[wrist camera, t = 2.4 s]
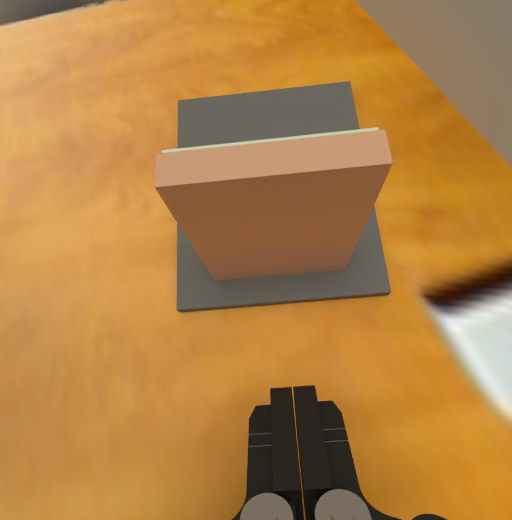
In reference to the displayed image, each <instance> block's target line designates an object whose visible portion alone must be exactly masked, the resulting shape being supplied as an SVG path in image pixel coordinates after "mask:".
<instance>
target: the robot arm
mask: <svg viewBox="0 0 512 520" xmlns="http://www.w3.org/2000/svg"><path fill="white" fill-rule="evenodd" d="M293 390H294V403H295V415H296V427H297V438H298V448H299V458H300V468H301V477H302V487H303V497H304V507H305V517H306V520H401V519H398V518H394V517H391V516H388V515H385V514H383V513H381V512H379V511H378V510H376V509H375V508H374V507H372V506H371V505H370V504H369V503H368V502H367V500H366V499H365V498H364V496H363V494H362V492H361V490H360V487H359V483H358V479H357V475H356V470H355V466H354V462H353V458H352V454H351V450H350V446H349V442H348V437H347V433H346V430H345V425H344V421H343V417H342V413H341V411H340V410H339V409H338V408H337V406H336V405H335V404H334V402H333V401H320V402H317V396H316V390H315V386H314V385H312V386H297V387H293ZM270 396H271V405H261V406H256V407H255V409H254V411H253V413H252V414H251V416H250V418H249V440H248V466H247V493H246V499H245V502H244V505H243V507H242V508H241V510H240V512H239V513H238V514H237V515H236V516H235V517H234V518H233V519H232V520H304V516H303V503H302V491H301V480H300V470H299V460H298V449H297V439H296V429H295V419H294V408H293V398H292V388H291V387H284V388H271V389H270ZM412 520H447V519H445V518H443V517H440V516H438V515H434V514H421V515H418V516H416V517H415V518H413V519H412Z"/></svg>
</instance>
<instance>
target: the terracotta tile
mask: <svg viewBox="0 0 512 520" xmlns="http://www.w3.org/2000/svg"><path fill="white" fill-rule="evenodd" d="M392 164H393V163H392V158H391V154H390V149H389V145H388V140H387V136H386V131H385V130H379V129H378V127H377V128H367V129H358V130H349V131H339V132H330V133H320V134H311V135H301V136H292V137H283V138H273V139H264V140H254V141H245V142H235V143H226V144H216V145H207V146H198V147H188V148H179V149H169V150H162V153H158V154H156V167H155V188H156V190H157V191H158V193H159V194H160V196H161V198H162V199H163V201H164V202H165V204H166V205H167V207H168V209H169V210H170V212H171V213H172V215H173V216H174V218H175V220H176V221H177V223H178V224H179V226H180V228H181V229H182V231H183V232H184V234H185V235H186V237H187V239H188V240H189V242H190V243H191V245H192V246H193V248H194V250H195V251H196V253H197V254H198V256H199V257H200V259H201V261H202V262H203V264H204V265H205V267H206V268H207V270H208V272H209V273H210V275H211V276H212V278H213V279H214V281H222V280H234V279H245V278H257V277H268V276H280V275H291V274H303V273H314V272H326V271H337V270H345V269H346V267H347V264H348V262H349V260H350V258H351V255H352V253H353V251H354V249H355V246H356V244H357V242H358V240H359V237H360V235H361V233H362V231H363V229H364V226H365V224H366V222H367V220H368V217H369V215H370V213H371V211H372V208H373V206H374V204H375V202H376V199H377V197H378V195H379V193H380V190H381V188H382V186H383V184H384V181H385V179H386V177H387V175H388V173H389V170H390V168H391V166H392Z"/></svg>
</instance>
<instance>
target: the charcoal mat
mask: <svg viewBox="0 0 512 520" xmlns="http://www.w3.org/2000/svg"><path fill="white" fill-rule="evenodd" d="M358 129H359V125H358V120H357V115H356V110H355V105H354V99H353V94H352V89H351V84H350V81H348V82H339V83H331V84H322V85H313V86H304V87H295V88H286V89H277V90H268V91H260V92H251V93H242V94H233V95H224V96H215V97H206V98H197V99H188V100H180V101H178V149H179V148H188V147H198V146H207V145H216V144H226V143H235V142H245V141H254V140H264V139H273V138H283V137H292V136H301V135H311V134H320V133H330V132H339V131H349V130H358ZM390 293H391V290H390V285H389V280H388V274H387V269H386V264H385V259H384V254H383V249H382V244H381V238H380V233H379V228H378V223H377V218H376V213H375V208H374V206H373V208H372V211H371V213H370V215H369V217H368V220H367V222H366V224H365V226H364V229H363V231H362V233H361V235H360V237H359V240H358V242H357V244H356V246H355V249H354V251H353V253H352V255H351V258H350V260H349V262H348V264H347V267H346V269H345V270H337V271H326V272H314V273H303V274H291V275H280V276H268V277H257V278H245V279H234V280H222V281H214V279H213V278H212V276H211V275H210V273H209V272H208V270H207V268H206V267H205V265H204V264H203V262H202V261H201V259H200V257H199V256H198V254H197V253H196V251H195V250H194V248H193V246H192V245H191V243H190V242H189V240H188V239H187V237H186V235H185V234H184V232H183V231H182V229H181V228H180V226H179V224H178V223H177V311H179V312H189V311H201V310H213V309H225V308H237V307H249V306H261V305H273V304H285V303H297V302H309V301H321V300H333V299H345V298H357V297H369V296H381V295H389V294H390Z"/></svg>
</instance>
